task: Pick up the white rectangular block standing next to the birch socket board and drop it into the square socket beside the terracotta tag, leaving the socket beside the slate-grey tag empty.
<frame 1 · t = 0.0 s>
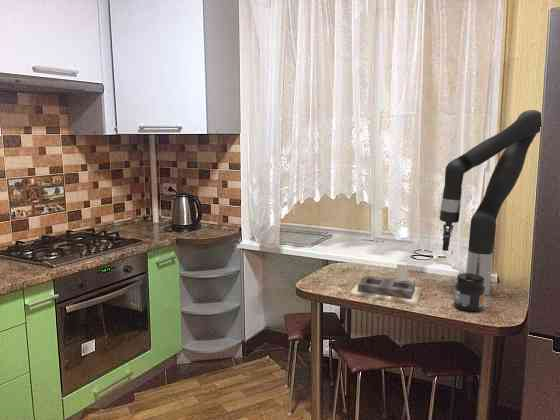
hand: (445, 248, 199), 17 cm above the table, tool pointing down, fingers open, 8 cm apart
supplement container: (468, 307, 181), on the table
socket board: (386, 292, 195), on the table
white rectangular block: (401, 283, 207), on the table
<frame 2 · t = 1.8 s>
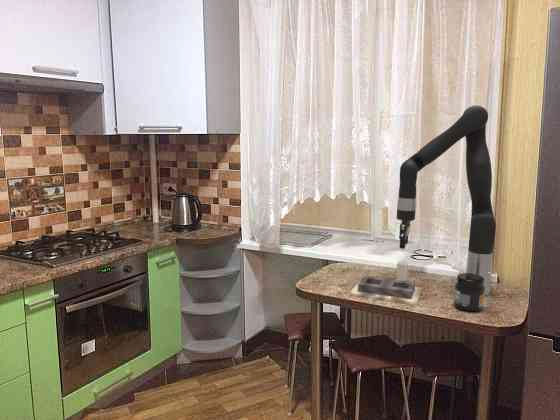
hand: (403, 245, 204), 17 cm above the table, tool pointing down, fingers open, 8 cm apart
nothing on the table moved.
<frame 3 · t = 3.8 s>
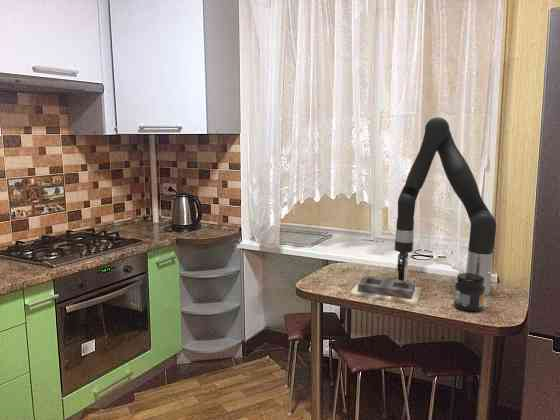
hand: (401, 278, 206), 2 cm above the table, tool pointing down, fingers closed on white rectangular block, 4 cm apart
white rectangular block: (401, 283, 207), on the table, touching gripper
everything else where it was.
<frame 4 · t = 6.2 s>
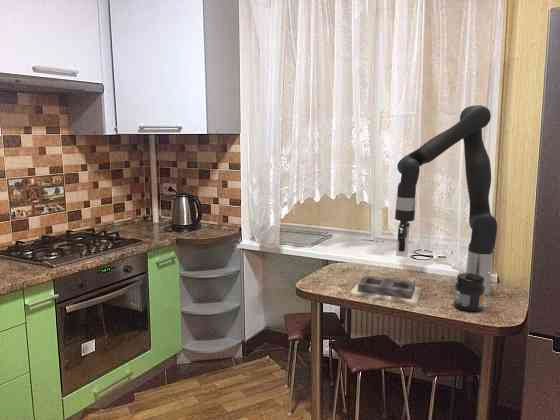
hand: (402, 249, 195), 17 cm above the table, tool pointing down, fingers closed on white rectangular block, 4 cm apart
white rectangular block: (401, 255, 195), point 15 cm above the table, touching gripper
everything else where it was.
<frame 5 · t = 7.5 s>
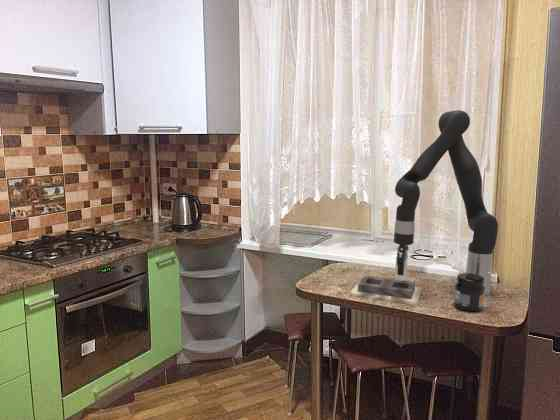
hand: (401, 273, 192), 9 cm above the table, tool pointing down, fingers closed on white rectangular block, 4 cm apart
white rectangular block: (400, 278, 192), point 7 cm above the table, touching gripper
everything else where it was.
when the fingers open (5 cm above the table, at t = 8.7 s): white rectangular block drops 2 cm, resting on socket board.
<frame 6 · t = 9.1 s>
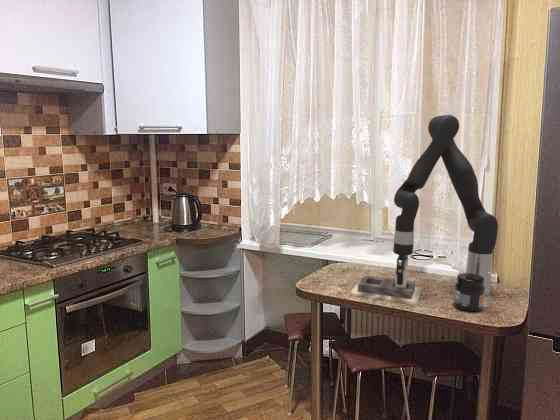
hand: (401, 281, 192), 6 cm above the table, tool pointing down, fingers open, 7 cm apart
white rectangular block: (400, 292, 193), point 1 cm above the table, touching socket board
everything else where it was.
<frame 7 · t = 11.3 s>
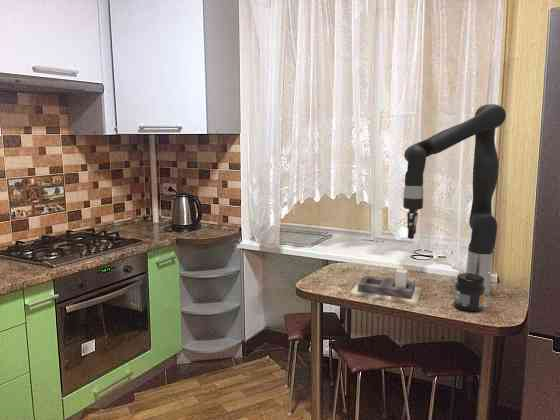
hand: (411, 236, 194), 23 cm above the table, tool pointing down, fingers open, 8 cm apart
nothing on the table moved.
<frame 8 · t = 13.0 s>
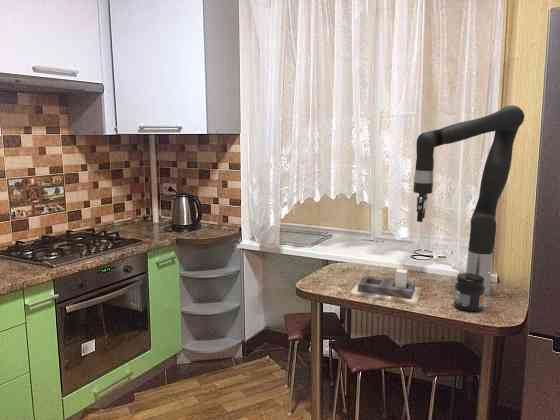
hand: (420, 219, 201), 28 cm above the table, tool pointing down, fingers open, 8 cm apart
nothing on the table moved.
at the end: white rectangular block 0.1 cm from the target spot, point 1.0 cm above the table; the gripper is holding nothing; white rectangular block tilted 0° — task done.
